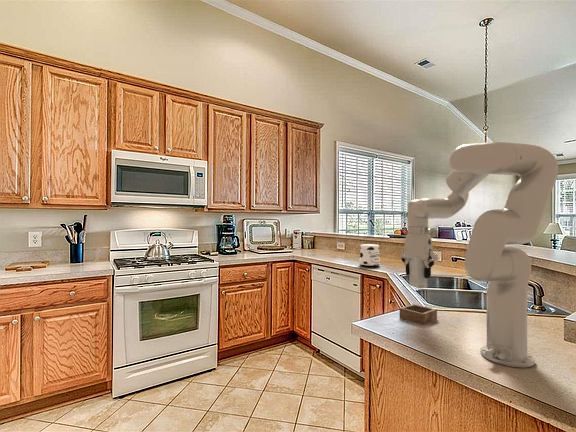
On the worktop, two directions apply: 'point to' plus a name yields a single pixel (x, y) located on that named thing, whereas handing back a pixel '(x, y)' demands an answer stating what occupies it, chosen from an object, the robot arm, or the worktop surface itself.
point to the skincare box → (417, 273)
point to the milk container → (369, 255)
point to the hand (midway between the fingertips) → (417, 275)
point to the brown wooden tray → (418, 314)
